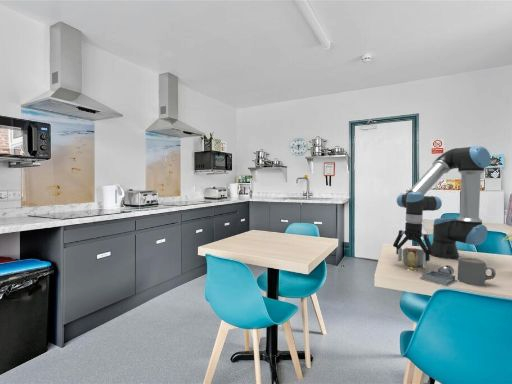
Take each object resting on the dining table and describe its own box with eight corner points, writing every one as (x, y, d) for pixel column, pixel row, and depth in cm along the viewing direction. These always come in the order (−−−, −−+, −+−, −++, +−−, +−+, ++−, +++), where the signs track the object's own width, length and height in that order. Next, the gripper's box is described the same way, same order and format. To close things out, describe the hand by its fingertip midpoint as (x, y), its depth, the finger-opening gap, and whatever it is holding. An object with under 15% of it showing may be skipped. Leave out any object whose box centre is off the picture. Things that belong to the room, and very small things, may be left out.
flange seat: (435, 272, 141) (436, 262, 141) (461, 278, 132) (462, 268, 132) (420, 278, 131) (420, 268, 131) (446, 286, 122) (447, 275, 122)
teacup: (427, 268, 147) (428, 253, 146) (405, 266, 149) (405, 251, 148) (418, 260, 160) (418, 247, 160) (397, 259, 162) (398, 245, 162)
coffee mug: (455, 281, 128) (456, 259, 128) (459, 276, 136) (460, 255, 135) (494, 289, 119) (495, 266, 119) (495, 283, 127) (496, 261, 126)
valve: (408, 266, 150) (409, 247, 150) (420, 269, 145) (421, 250, 145) (402, 268, 147) (403, 249, 146) (415, 271, 142) (415, 251, 141)
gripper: (387, 219, 152) (385, 259, 153) (436, 226, 133) (434, 271, 134) (394, 218, 157) (392, 257, 158) (443, 225, 137) (441, 268, 138)
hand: (411, 263), depth 146 cm, fingers open, 12 cm apart
